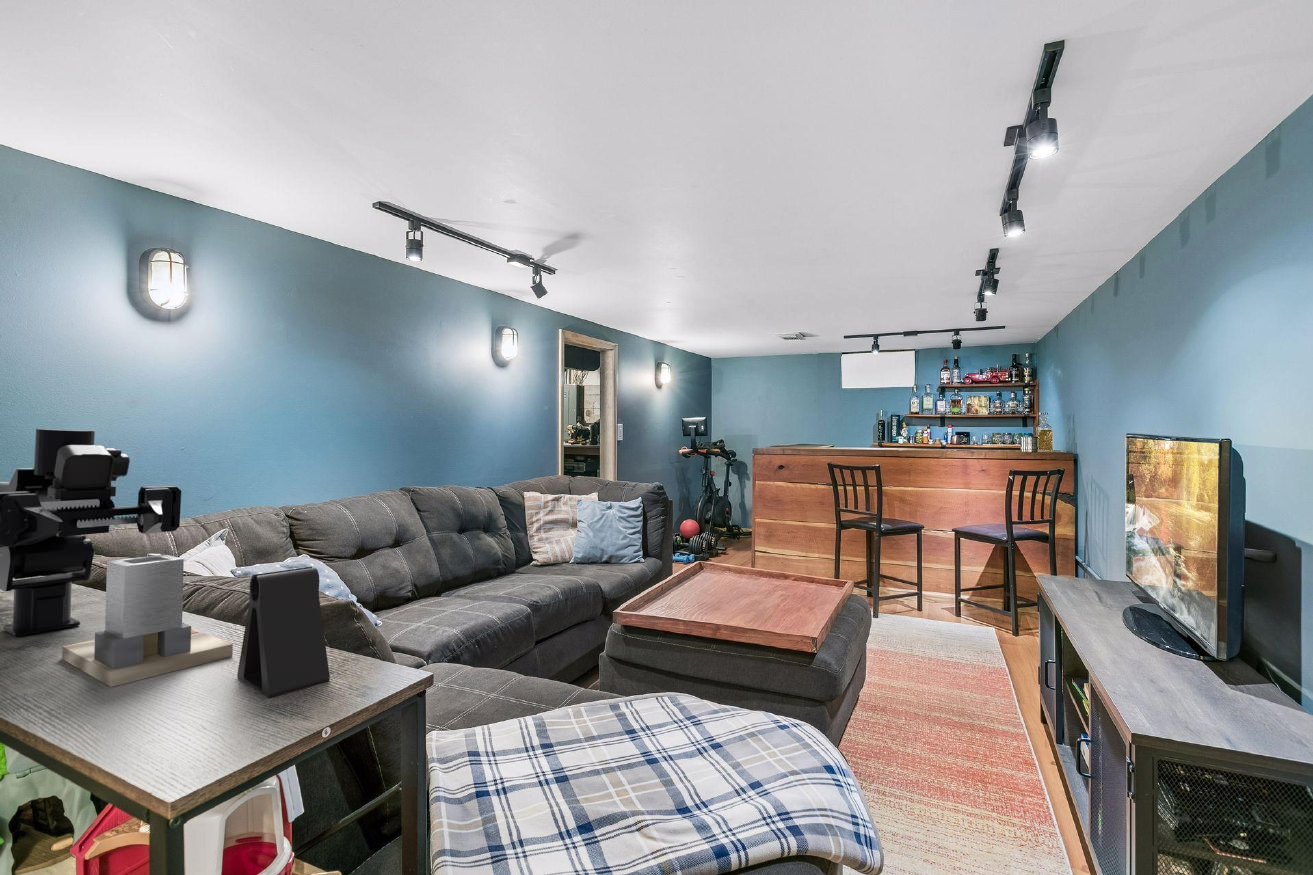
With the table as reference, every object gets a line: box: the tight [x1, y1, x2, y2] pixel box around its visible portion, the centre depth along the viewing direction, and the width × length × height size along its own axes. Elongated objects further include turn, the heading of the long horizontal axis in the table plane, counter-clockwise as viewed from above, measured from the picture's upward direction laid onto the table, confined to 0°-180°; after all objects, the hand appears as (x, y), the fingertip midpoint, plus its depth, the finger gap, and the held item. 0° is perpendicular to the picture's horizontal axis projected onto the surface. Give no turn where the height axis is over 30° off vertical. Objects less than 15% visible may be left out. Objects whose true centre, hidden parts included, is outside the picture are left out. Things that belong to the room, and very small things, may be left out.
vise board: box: [61, 622, 234, 688], centre depth 73 cm, size 16×12×8 cm
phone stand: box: [236, 566, 331, 699], centre depth 67 cm, size 9×6×12 cm, turn 52°
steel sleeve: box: [104, 554, 185, 639], centre depth 70 cm, size 5×5×8 cm
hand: (113, 522), depth 72 cm, fingers open, 9 cm apart
